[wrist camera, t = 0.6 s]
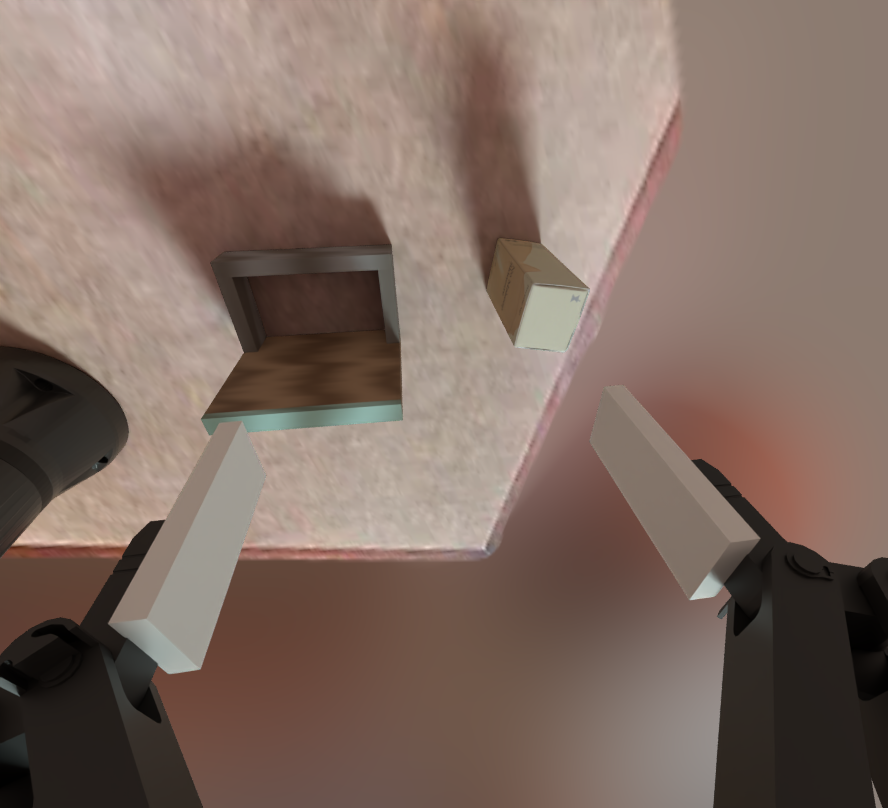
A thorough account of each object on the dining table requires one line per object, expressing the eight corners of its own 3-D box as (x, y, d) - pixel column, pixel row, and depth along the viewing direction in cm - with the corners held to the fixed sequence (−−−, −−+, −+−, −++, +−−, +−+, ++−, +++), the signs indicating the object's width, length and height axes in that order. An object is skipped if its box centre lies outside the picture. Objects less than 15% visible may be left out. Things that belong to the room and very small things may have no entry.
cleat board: (258, 351, 38) (209, 435, 28) (224, 251, 32) (146, 312, 22) (400, 342, 39) (402, 420, 29) (391, 244, 33) (390, 298, 23)
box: (497, 236, 34) (533, 277, 25) (543, 243, 34) (594, 285, 26) (484, 294, 37) (513, 349, 28) (527, 299, 38) (568, 354, 29)
